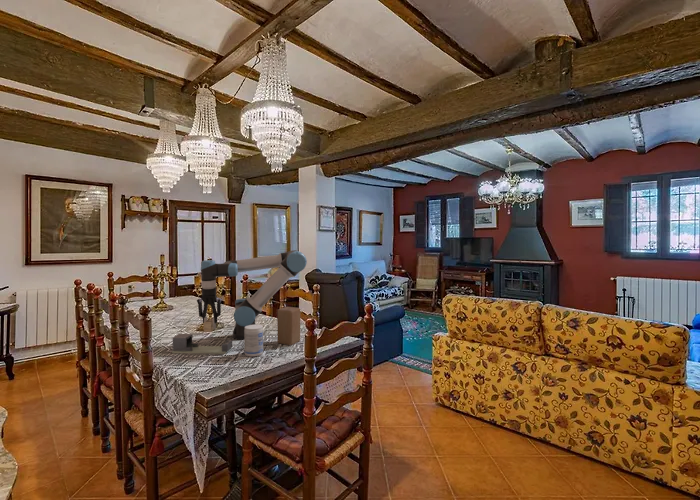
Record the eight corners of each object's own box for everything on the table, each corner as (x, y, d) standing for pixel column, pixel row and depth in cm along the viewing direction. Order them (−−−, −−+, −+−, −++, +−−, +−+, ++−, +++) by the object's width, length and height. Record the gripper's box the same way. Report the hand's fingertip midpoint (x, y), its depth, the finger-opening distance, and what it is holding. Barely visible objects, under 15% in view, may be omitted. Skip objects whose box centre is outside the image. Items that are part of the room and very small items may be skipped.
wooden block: (300, 341, 212) (300, 307, 211) (291, 346, 203) (291, 311, 201) (286, 338, 216) (286, 306, 215) (276, 343, 207) (276, 309, 206)
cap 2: (232, 346, 197) (232, 339, 197) (227, 351, 190) (227, 344, 189) (226, 346, 197) (226, 339, 197) (221, 351, 190) (221, 344, 189)
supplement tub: (263, 356, 186) (262, 328, 185) (243, 357, 184) (243, 329, 183) (263, 350, 195) (263, 323, 194) (245, 351, 193) (244, 324, 192)
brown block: (209, 327, 207) (209, 319, 207) (216, 327, 207) (216, 319, 207) (203, 331, 199) (203, 322, 199) (211, 331, 199) (210, 322, 199)
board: (230, 348, 198) (230, 346, 198) (225, 353, 189) (225, 352, 189) (180, 347, 198) (180, 345, 198) (172, 353, 189) (172, 351, 189)
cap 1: (197, 346, 197) (197, 334, 197) (191, 351, 190) (191, 338, 189) (179, 346, 197) (179, 333, 197) (172, 350, 190) (172, 337, 189)
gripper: (226, 286, 205) (227, 326, 207) (196, 286, 205) (198, 327, 207) (221, 288, 198) (223, 330, 199) (190, 289, 198) (192, 330, 199)
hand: (210, 328), depth 203 cm, fingers closed on brown block, 4 cm apart
